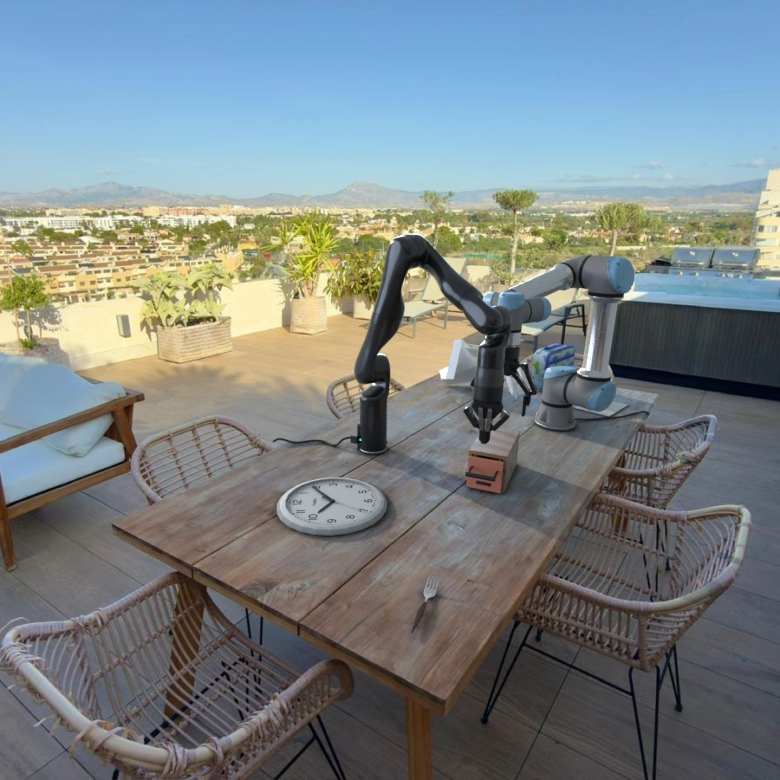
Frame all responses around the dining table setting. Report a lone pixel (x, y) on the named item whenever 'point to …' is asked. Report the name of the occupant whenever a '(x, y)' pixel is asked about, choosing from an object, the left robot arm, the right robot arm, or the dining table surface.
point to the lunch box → (550, 360)
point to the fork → (428, 594)
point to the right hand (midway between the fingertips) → (501, 412)
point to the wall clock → (331, 506)
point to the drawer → (485, 473)
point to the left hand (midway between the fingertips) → (484, 442)
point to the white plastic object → (467, 366)
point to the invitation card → (609, 411)
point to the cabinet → (500, 451)
